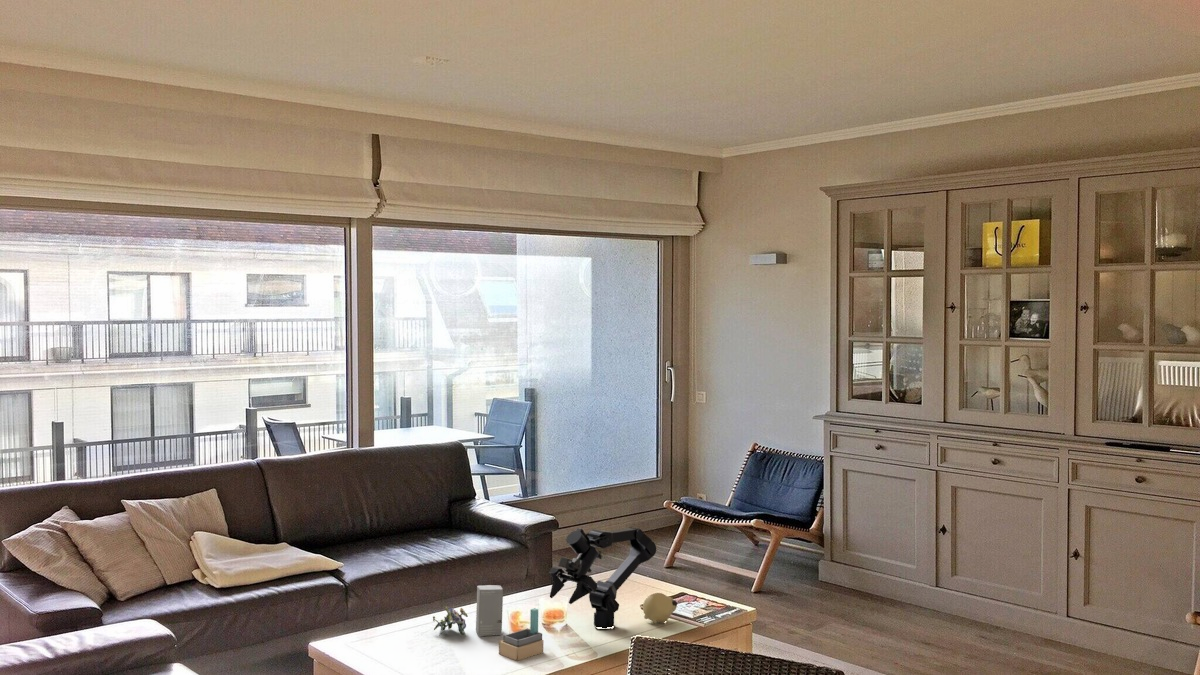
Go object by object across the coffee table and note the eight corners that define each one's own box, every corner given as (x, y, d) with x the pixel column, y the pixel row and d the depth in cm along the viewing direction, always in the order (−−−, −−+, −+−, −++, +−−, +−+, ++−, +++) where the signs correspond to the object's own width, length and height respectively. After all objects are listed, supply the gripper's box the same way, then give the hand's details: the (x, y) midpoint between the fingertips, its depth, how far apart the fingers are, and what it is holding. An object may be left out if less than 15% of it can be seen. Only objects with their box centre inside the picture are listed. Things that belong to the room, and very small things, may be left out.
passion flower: (461, 650, 329) (472, 627, 323) (430, 648, 325) (441, 624, 319) (458, 623, 338) (469, 600, 332) (428, 620, 334) (438, 597, 328)
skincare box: (478, 637, 326) (478, 590, 326) (475, 630, 333) (475, 584, 333) (503, 635, 328) (503, 588, 328) (499, 628, 335) (500, 583, 335)
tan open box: (524, 645, 318) (525, 633, 318) (543, 652, 312) (543, 640, 312) (498, 653, 310) (499, 641, 310) (517, 660, 304) (517, 648, 304)
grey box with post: (528, 644, 318) (529, 606, 318) (543, 650, 313) (543, 611, 313) (503, 652, 310) (503, 613, 310) (517, 658, 305) (518, 618, 305)
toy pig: (681, 623, 344) (681, 593, 344) (654, 629, 337) (654, 598, 337) (664, 616, 352) (665, 586, 352) (637, 621, 345) (638, 591, 345)
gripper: (553, 543, 333) (528, 580, 325) (591, 552, 320) (567, 592, 312) (569, 562, 339) (545, 599, 331) (608, 572, 326) (584, 611, 318)
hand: (560, 600), depth 323 cm, fingers open, 9 cm apart
